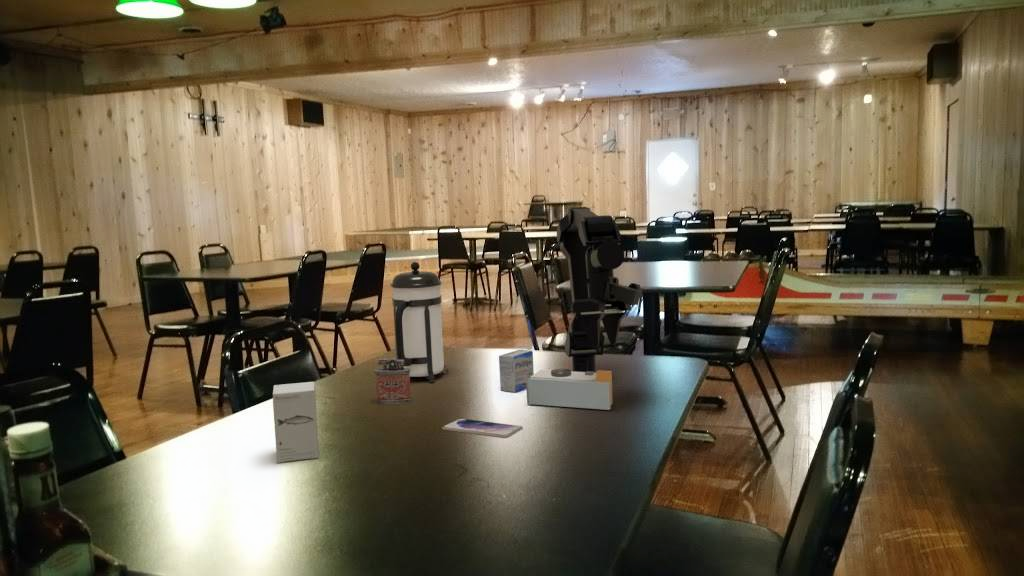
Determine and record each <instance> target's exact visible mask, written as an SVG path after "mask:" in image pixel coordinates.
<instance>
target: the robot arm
mask: <svg viewBox="0 0 1024 576" xmlns="http://www.w3.org/2000/svg"><path fill="white" fill-rule="evenodd" d="M622 237H623V236H622V234H621V231H620V228H619V226H618V224H617V222H616V220H614V218H613V216H612V215H610V214H609V215H599V214H596V213H595V212H593V211H592V210H591V208H590V207H587V206H576V207H575V206H574V207H573V206H572V207H570V208H568V210H567V213H566V215H564V217H562V218H561V219H560V220H559V221H558V224H557V228H556V240H557V241H556V242H557V243H559V249H560V252H561V253H562V255H563V256H564V257H565V259H566V260H567V265H568V276H569V284H570V285H569V286H570V294H571V302H572V303H571V308H570V309H571V314H573V316H572V317H573V318H572V319H571V321H570V323H569V325H568V328H567V329H568V331H567V333H566V337H565V343H564V351H565V355H566V356H567V357H568V358H571V360H572V363H571V364H572V371H574V372H587V371H591V372H594V373H596V371H597V365H596V363H597V361H596V358H597V357H596V356H603V355H604V345H605V340H606V337H605V336H607V339H608V342H609V344H610V346H611V345H612V346H615V345H616V344H617V342H618V341H617V340H618V336H619V331H620V327H621V323H622V320H623V319H624V318H625V317H626V316H627V315H629V314H630V312H629V311H632V306H634V305H636V306H638V305H639V303H640V299H642V298H643V296H644V295H643V290H642V289H641V284H638V283H634V282H630V284H629V285H622V284H620V280H619V278H618V277H616V276H614V270H616V269H617V268H619V267H620V266H621V265H623V263H624V261H625V251H624V249H623V248H622V246H621V245H620V244H621V243H622ZM601 322H602V324H603V327H604V330H605V333H606V335H604V332H603V331H602V330H601Z"/></svg>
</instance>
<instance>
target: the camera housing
mask: <svg viewBox="0 0 1024 576" xmlns="http://www.w3.org/2000/svg"><path fill="white" fill-rule="evenodd" d="M530 378H543V379H560V380H578V381H595V382H596V373H594V372H591V371H587V372H574V371H573V370H571V369H569V368H557V369H555V368H554V369H552V370H551V369H540V370H538V371H537V372H535V373H534V375H532V376H531V377H530Z"/></svg>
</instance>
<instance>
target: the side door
mask: <svg viewBox="0 0 1024 576" xmlns="http://www.w3.org/2000/svg"><path fill="white" fill-rule="evenodd" d="M612 373H613V372H612V370H601V369H596V382H595V381H578V380H560V379H543V378H526V385H527V388H526V403H527V405H537V406H550V407H551V406H553V407H565V408H566V407H567V408H579V409H589V410H591V409H592V410H603V411H604V410H605V411H606V410H607V411H610V410H611V409H612V405H613V375H612Z"/></svg>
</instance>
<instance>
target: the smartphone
mask: <svg viewBox="0 0 1024 576" xmlns="http://www.w3.org/2000/svg"><path fill="white" fill-rule="evenodd" d="M441 429H442V430H443V431H449V432H456V431H457V432H458V433H463V434H464V433H465V434H473V435H479V436H480V435H481V436H486V437H491V438H499V439H508V438H510V437H512V436H513V435H515V434H517V433H518V432H521V431H522V430H523V426H522V425H516V424H508V423H507V424H506V423H499V422H493V421H483V420H475V419H467V418H459V419H458V418H457V419H456V420H453V421H452V422H449V423H447V424H445V425H443V426H442V427H441Z"/></svg>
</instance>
